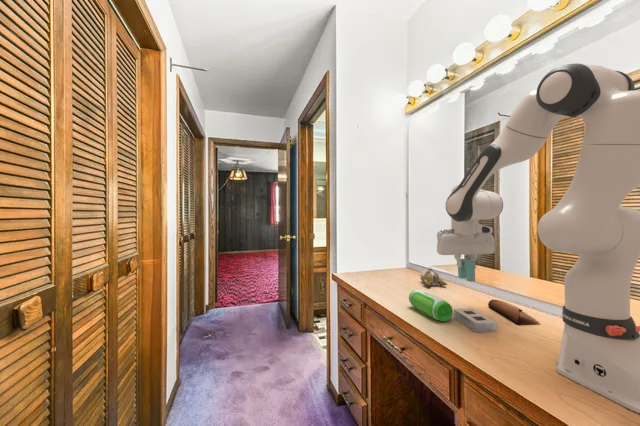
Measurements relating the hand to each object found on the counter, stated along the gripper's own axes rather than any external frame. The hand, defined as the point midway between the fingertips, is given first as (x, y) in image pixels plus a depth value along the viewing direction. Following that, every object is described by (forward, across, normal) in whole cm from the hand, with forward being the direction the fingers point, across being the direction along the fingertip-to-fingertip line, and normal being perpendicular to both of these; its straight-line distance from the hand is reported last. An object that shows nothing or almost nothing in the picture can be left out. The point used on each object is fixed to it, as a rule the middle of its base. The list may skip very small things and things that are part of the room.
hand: (466, 266), depth 104 cm
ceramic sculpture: (+17, +6, +44) cm, 47 cm away
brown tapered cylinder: (+19, +16, -1) cm, 25 cm away
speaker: (+18, -13, +4) cm, 22 cm away
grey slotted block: (+18, -2, -7) cm, 20 cm away
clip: (+5, 0, 0) cm, 5 cm away
